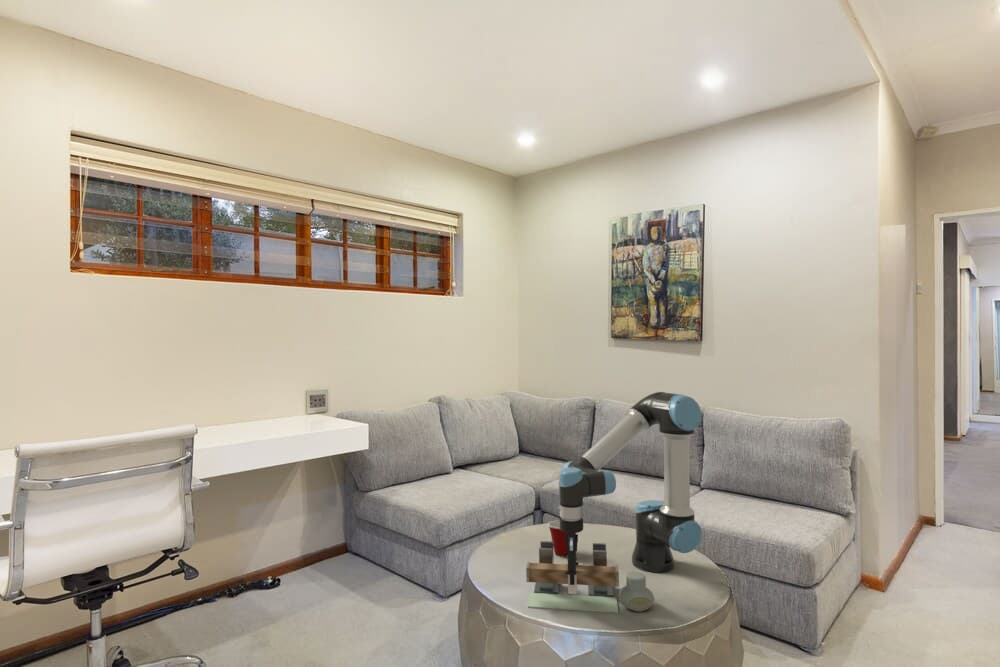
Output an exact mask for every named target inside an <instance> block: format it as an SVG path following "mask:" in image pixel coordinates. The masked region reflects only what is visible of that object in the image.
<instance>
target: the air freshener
mask: <svg viewBox="0 0 1000 667" xmlns="http://www.w3.org/2000/svg"><path fill="white" fill-rule="evenodd" d="M646 583H647V582H646V575H645V574H644V573H642V572H641V571H629V572H628V573H627V574H626V585H624V586H623V587H622V588H621V589H620V590H619V592H618V598H619V601H620V604H622V606H624V607H625V608H627V609H628V610H630V611H634V612H642V611H647V610H648V609H650V608H652V606H653V605H654V603H655V595H654V594H653V591H652V590H650V589H649V587H646V586H647V584H646Z"/></svg>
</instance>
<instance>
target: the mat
mask: <svg viewBox="0 0 1000 667" xmlns="http://www.w3.org/2000/svg"><path fill="white" fill-rule="evenodd" d="M529 596H530V598H529V602H528V606H527V608H529V609H531V608H532V609H545V610H546V609H547V610H548V609H549V610H563V611H564V610H565V611H567V610H568V611H582V612H598V613H600V612H601V613H617V614H618V613H619V608H618V600H617V596H615V597H614V596H613V597H600V596H589V595H579V594H578V595H577V594H559V593H558V594H543V593H534V592H530V594H529Z"/></svg>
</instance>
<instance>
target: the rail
mask: <svg viewBox="0 0 1000 667" xmlns="http://www.w3.org/2000/svg"><path fill="white" fill-rule="evenodd" d="M525 571H526V572H525V573H526V574H525V576H526V578H525V579H526V583H535V584H536V583H556V584H559V585H568V574H566V572H568V563H567V564H565V563H562V564H561V563H554V564H546V563H539V562H530V561H527V564H526V568H525ZM576 577H577V586H581V585H582V586H588V585H595V586H612V587H613V588H614V587H615V588H616V587H617V588H618V587H619V588H620V573H619V566H618V565H615V566H610V565H607V566H593V565H590V564H589V565H587V564H578V565H576Z"/></svg>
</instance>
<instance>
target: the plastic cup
mask: <svg viewBox="0 0 1000 667" xmlns="http://www.w3.org/2000/svg"><path fill="white" fill-rule="evenodd" d="M547 525H548V527H549V532H550V536H551V541H553V553H554V555H555V554H556V556H557V555H558V556H557V557H561V556H563V557H567V556H566V555H568V552H567V551H566V542H565V537H566V534H568V533H566V532H563V531H561V529H560V520H552V521H549V522H548V523H547Z"/></svg>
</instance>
